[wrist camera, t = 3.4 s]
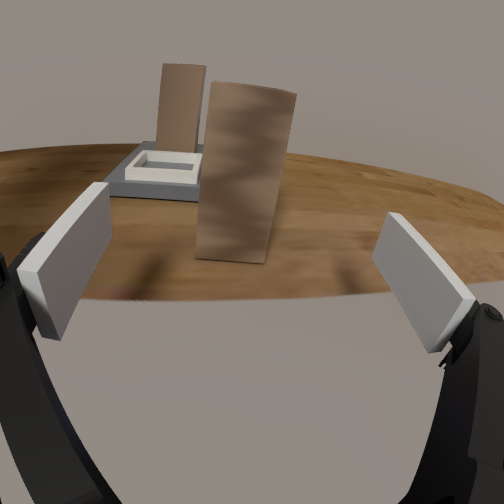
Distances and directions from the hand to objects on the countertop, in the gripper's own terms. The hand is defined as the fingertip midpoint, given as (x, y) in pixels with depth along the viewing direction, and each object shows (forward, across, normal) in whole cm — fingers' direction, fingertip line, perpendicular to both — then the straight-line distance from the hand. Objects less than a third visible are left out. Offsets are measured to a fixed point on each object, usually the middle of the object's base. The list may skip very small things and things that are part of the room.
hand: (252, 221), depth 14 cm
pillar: (+9, 0, -6) cm, 11 cm away
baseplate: (+25, -7, -6) cm, 27 cm away
